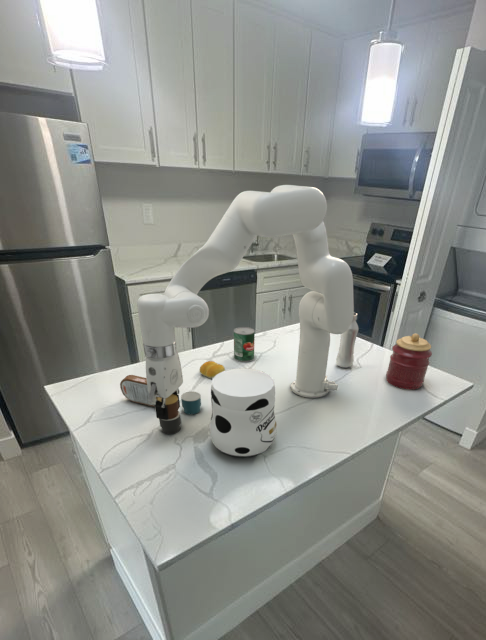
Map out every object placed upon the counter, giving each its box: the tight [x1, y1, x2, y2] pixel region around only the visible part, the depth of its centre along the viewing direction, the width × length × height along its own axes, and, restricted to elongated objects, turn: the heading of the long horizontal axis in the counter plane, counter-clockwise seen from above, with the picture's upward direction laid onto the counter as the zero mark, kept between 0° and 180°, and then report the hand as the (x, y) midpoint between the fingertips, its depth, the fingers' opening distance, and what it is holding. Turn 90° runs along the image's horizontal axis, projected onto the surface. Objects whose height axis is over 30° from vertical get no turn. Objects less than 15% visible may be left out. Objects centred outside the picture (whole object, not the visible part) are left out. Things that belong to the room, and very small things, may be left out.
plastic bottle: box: [335, 312, 360, 369], centre depth 137 cm, size 6×7×20 cm
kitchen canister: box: [385, 333, 433, 390], centre depth 128 cm, size 13×13×18 cm
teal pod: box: [180, 391, 202, 415], centre depth 110 cm, size 6×6×5 cm
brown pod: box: [158, 394, 180, 419], centre depth 99 cm, size 6×6×5 cm
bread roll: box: [199, 360, 226, 379], centre depth 131 cm, size 8×9×4 cm
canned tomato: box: [233, 326, 256, 363], centre depth 142 cm, size 8×8×11 cm
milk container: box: [209, 367, 278, 458], centre depth 94 cm, size 17×17×18 cm
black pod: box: [158, 410, 182, 435], centre depth 102 cm, size 6×6×5 cm
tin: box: [119, 374, 159, 408], centre depth 111 cm, size 15×3×8 cm, turn 71°
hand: (168, 412), depth 100 cm, fingers closed on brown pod, 5 cm apart
